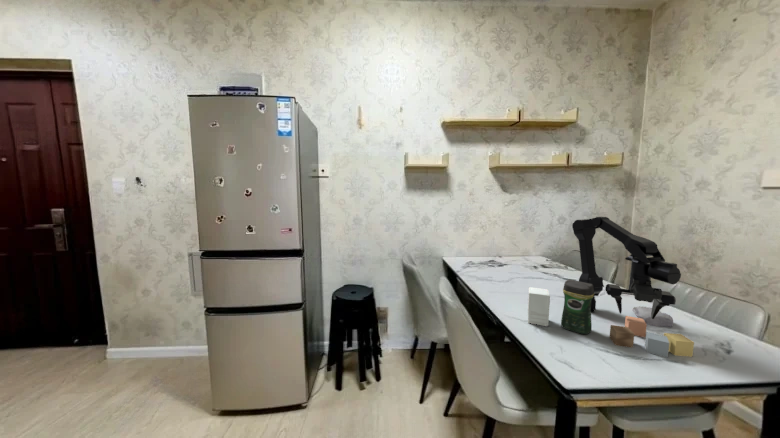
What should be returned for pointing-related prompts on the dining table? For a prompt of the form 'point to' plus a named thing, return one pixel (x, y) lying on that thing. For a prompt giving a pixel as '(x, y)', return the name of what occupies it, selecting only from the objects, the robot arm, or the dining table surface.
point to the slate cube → (657, 344)
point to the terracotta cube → (636, 325)
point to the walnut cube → (621, 336)
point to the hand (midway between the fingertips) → (635, 315)
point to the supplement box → (538, 306)
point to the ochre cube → (680, 345)
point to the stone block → (659, 319)
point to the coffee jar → (577, 306)
